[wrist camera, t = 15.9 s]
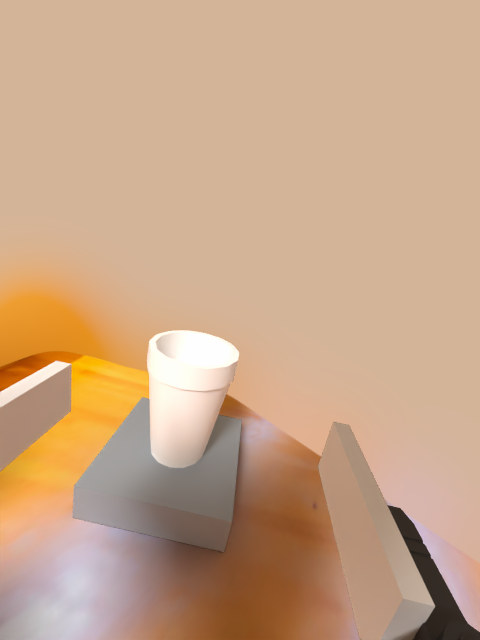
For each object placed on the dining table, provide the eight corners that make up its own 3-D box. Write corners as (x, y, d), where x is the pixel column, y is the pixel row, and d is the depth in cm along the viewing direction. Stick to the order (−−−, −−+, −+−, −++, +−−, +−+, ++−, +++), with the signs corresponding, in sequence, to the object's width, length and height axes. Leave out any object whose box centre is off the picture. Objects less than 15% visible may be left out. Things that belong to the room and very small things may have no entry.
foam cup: (196, 414, 38) (213, 329, 34) (231, 462, 31) (256, 362, 27) (126, 430, 32) (137, 331, 29) (150, 494, 25) (168, 374, 22)
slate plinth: (236, 442, 40) (241, 419, 39) (224, 552, 26) (232, 521, 24) (139, 420, 40) (142, 397, 39) (72, 517, 26) (74, 486, 24)
